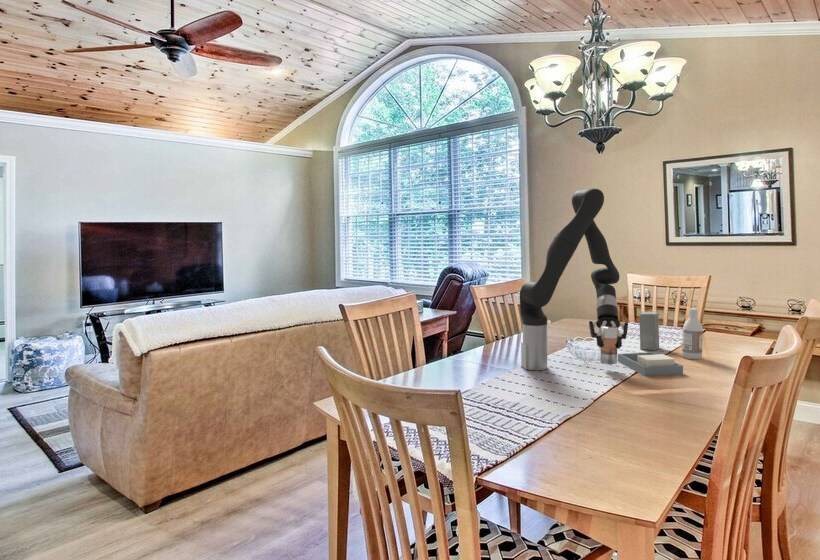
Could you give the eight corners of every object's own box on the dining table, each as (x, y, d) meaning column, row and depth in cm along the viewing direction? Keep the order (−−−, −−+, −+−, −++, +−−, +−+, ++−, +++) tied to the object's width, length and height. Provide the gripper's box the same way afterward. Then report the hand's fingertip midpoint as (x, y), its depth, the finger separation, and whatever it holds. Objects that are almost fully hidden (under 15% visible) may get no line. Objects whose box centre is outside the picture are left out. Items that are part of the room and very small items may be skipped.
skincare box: (655, 351, 216) (656, 314, 214) (637, 349, 220) (638, 313, 219) (659, 347, 223) (660, 311, 221) (642, 345, 227) (643, 310, 225)
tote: (644, 378, 178) (644, 367, 178) (617, 363, 198) (617, 353, 198) (682, 376, 179) (683, 365, 179) (652, 362, 199) (652, 352, 198)
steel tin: (604, 364, 182) (605, 328, 181) (597, 360, 188) (598, 325, 187) (619, 364, 183) (620, 328, 181) (612, 359, 188) (613, 325, 187)
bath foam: (698, 360, 199) (700, 310, 197) (679, 357, 204) (681, 309, 202) (704, 357, 204) (705, 308, 202) (685, 354, 209) (687, 306, 207)
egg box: (647, 373, 180) (647, 360, 180) (637, 368, 187) (637, 355, 187) (674, 372, 181) (674, 358, 180) (663, 367, 188) (663, 354, 187)
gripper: (587, 303, 192) (589, 340, 182) (628, 304, 188) (632, 342, 178) (586, 314, 198) (587, 351, 188) (626, 315, 194) (629, 353, 184)
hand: (609, 346), depth 183 cm, fingers closed on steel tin, 5 cm apart
